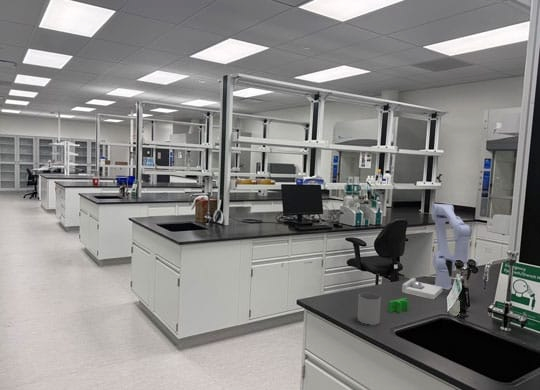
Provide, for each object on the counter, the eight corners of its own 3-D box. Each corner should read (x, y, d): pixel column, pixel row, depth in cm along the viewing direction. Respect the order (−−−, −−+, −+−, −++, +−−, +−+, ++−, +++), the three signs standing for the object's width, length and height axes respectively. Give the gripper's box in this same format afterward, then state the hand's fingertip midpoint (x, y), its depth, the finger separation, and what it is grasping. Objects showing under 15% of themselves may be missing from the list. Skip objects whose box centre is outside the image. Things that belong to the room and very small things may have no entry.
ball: (424, 284, 190) (420, 293, 190) (415, 279, 193) (411, 288, 193) (422, 284, 186) (417, 293, 186) (412, 279, 189) (408, 287, 189)
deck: (412, 285, 200) (412, 277, 199) (442, 291, 191) (442, 284, 190) (401, 292, 187) (402, 284, 187) (433, 299, 178) (434, 291, 178)
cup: (375, 326, 144) (377, 301, 143) (354, 321, 148) (356, 296, 147) (381, 319, 151) (383, 295, 150) (361, 315, 155) (362, 291, 154)
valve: (461, 319, 155) (469, 311, 164) (462, 303, 155) (471, 297, 164) (444, 314, 160) (453, 307, 169) (445, 299, 159) (454, 293, 168)
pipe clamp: (395, 315, 157) (395, 304, 157) (387, 311, 161) (388, 301, 160) (412, 310, 163) (413, 300, 163) (405, 307, 166) (405, 297, 166)
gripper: (442, 248, 181) (440, 276, 182) (476, 253, 173) (474, 282, 173) (446, 246, 187) (444, 273, 188) (479, 251, 178) (477, 279, 179)
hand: (458, 277), depth 181 cm, fingers open, 7 cm apart
